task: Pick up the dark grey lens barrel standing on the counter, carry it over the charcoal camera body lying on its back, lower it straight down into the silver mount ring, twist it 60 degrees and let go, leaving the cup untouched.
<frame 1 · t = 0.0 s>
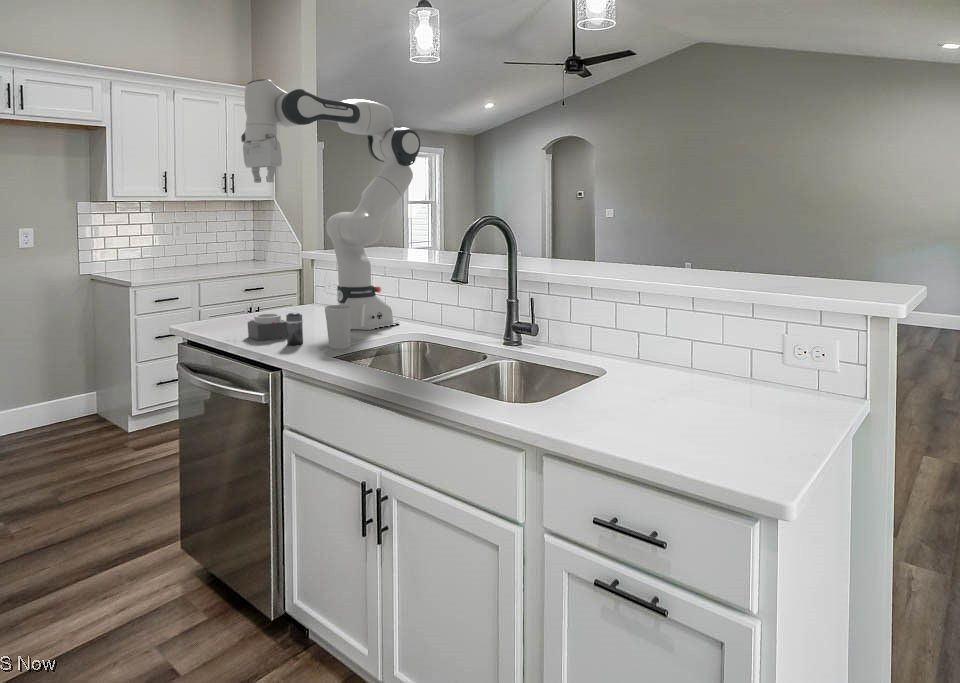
hand: (263, 182, 213), 48 cm above the worktop, tool pointing down, fingers open, 8 cm apart
lens: (295, 344, 211), on the worktop
cup: (339, 347, 208), on the worktop
camera body: (268, 337, 221), on the worktop
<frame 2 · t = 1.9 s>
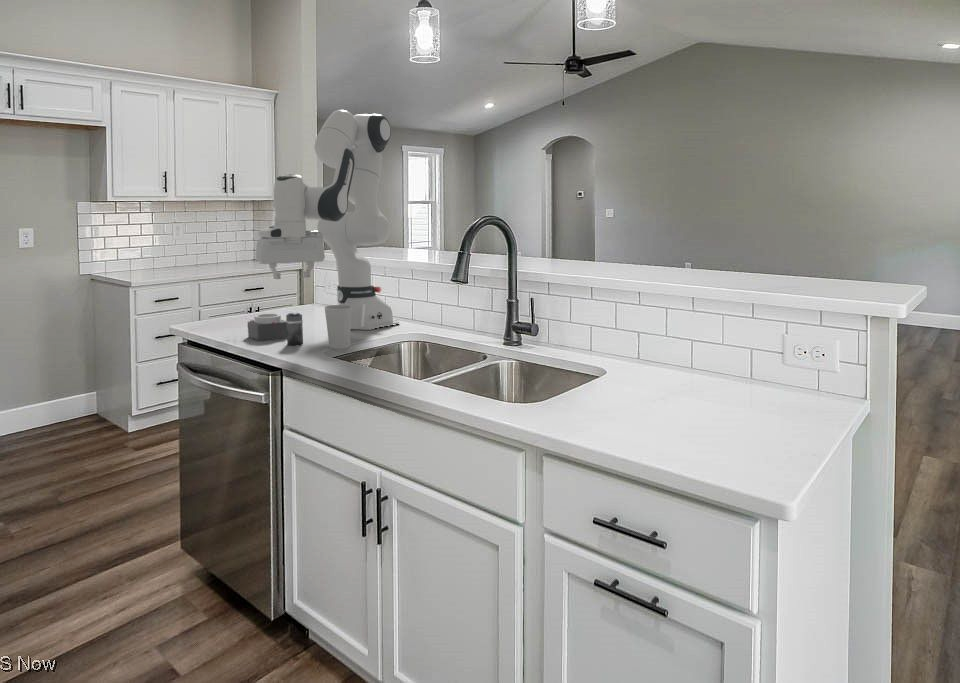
hand: (292, 278, 207), 20 cm above the worktop, tool pointing down, fingers open, 8 cm apart
nothing on the worktop moved.
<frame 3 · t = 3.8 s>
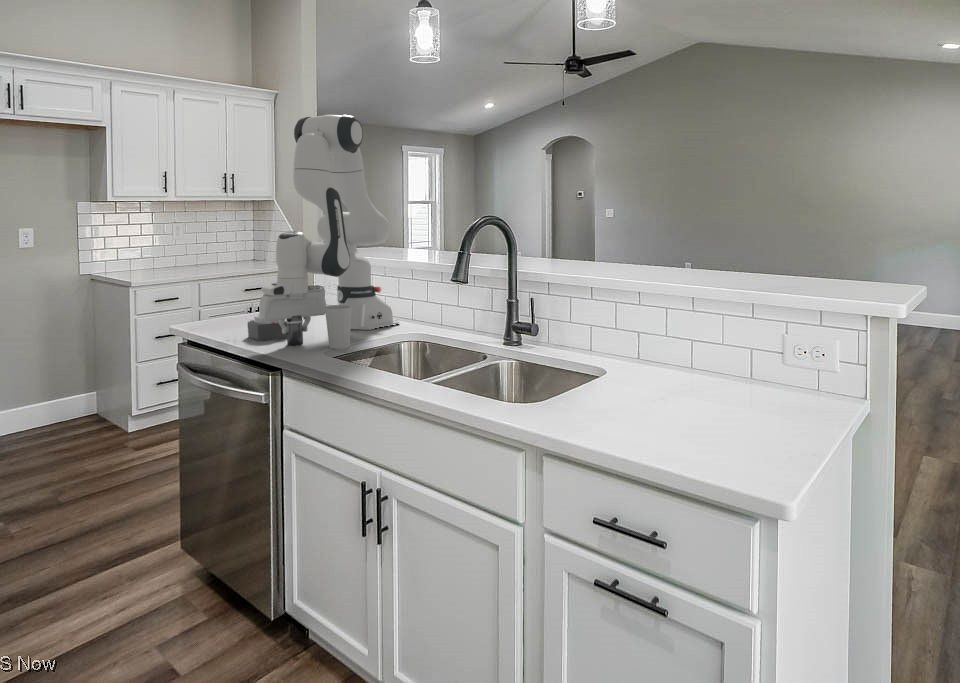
hand: (294, 332, 210), 4 cm above the worktop, tool pointing down, fingers closed on lens, 5 cm apart
lens: (295, 344, 211), on the worktop, touching gripper
everything else where it was.
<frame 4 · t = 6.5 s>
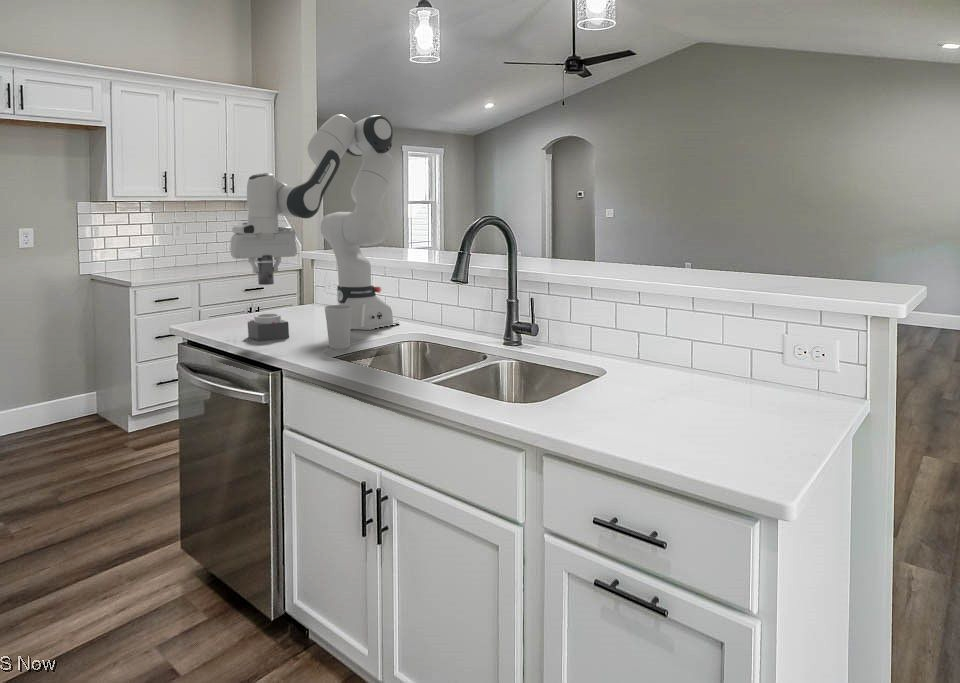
hand: (265, 272, 217), 21 cm above the worktop, tool pointing down, fingers closed on lens, 5 cm apart
lens: (266, 283, 217), point 17 cm above the worktop, touching gripper
everything else where it was.
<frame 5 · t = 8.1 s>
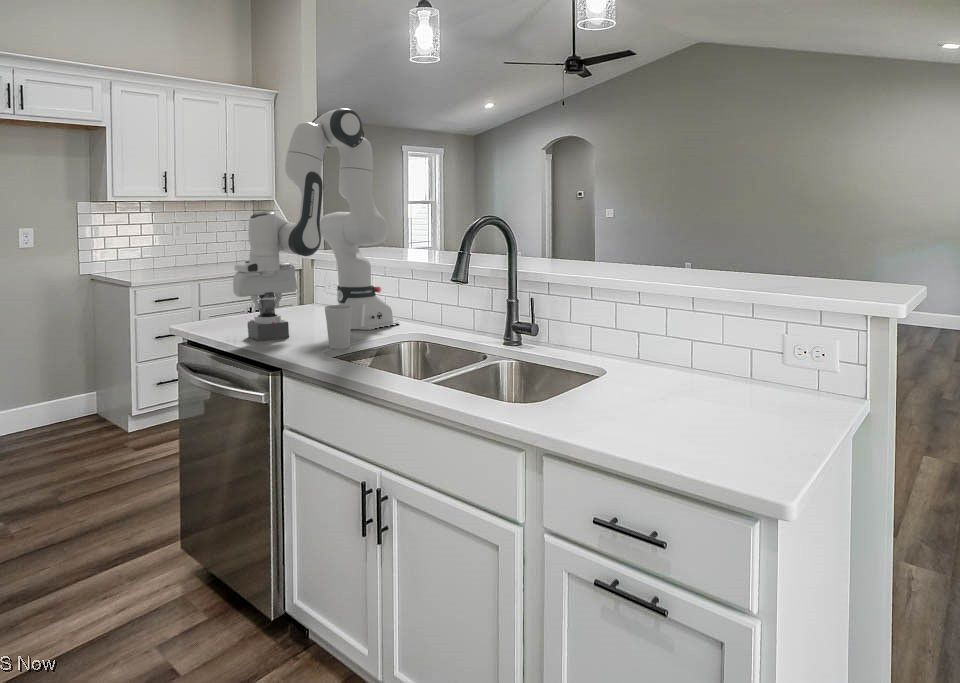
hand: (267, 308, 219), 9 cm above the worktop, tool pointing down, fingers closed on lens, 5 cm apart
lens: (267, 320, 220), point 6 cm above the worktop, touching gripper
everything else where it was.
when the fingers open (9 cm above the worktop, at t = 9.4 s): lens stays where it is, resting on camera body.
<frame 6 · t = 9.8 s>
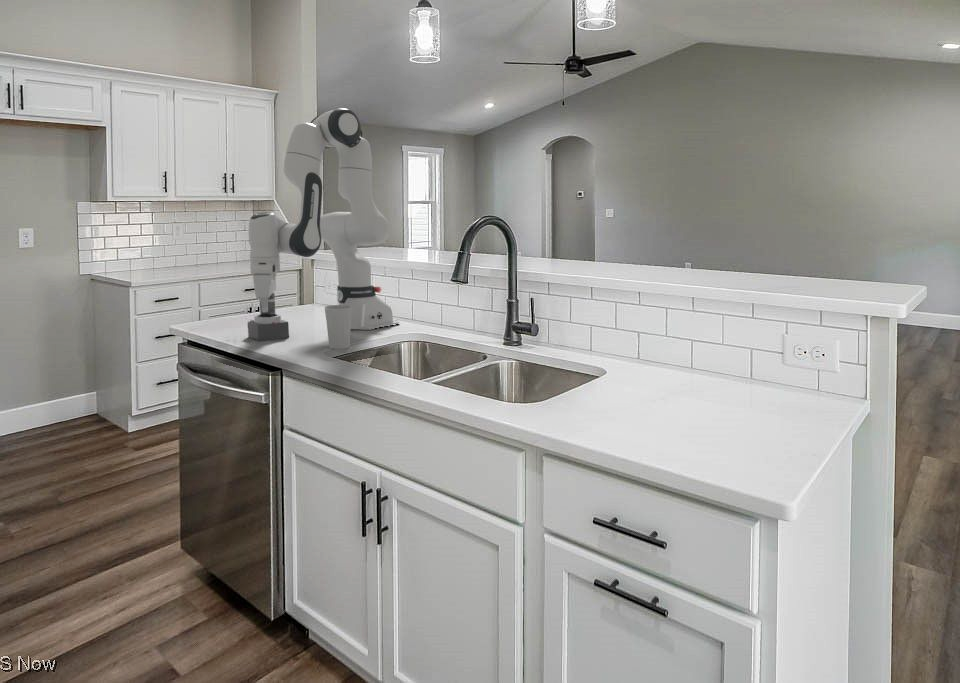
hand: (267, 309, 219), 9 cm above the worktop, tool pointing down, fingers open, 8 cm apart
lens: (268, 321, 220), point 5 cm above the worktop, touching camera body
everything else where it was.
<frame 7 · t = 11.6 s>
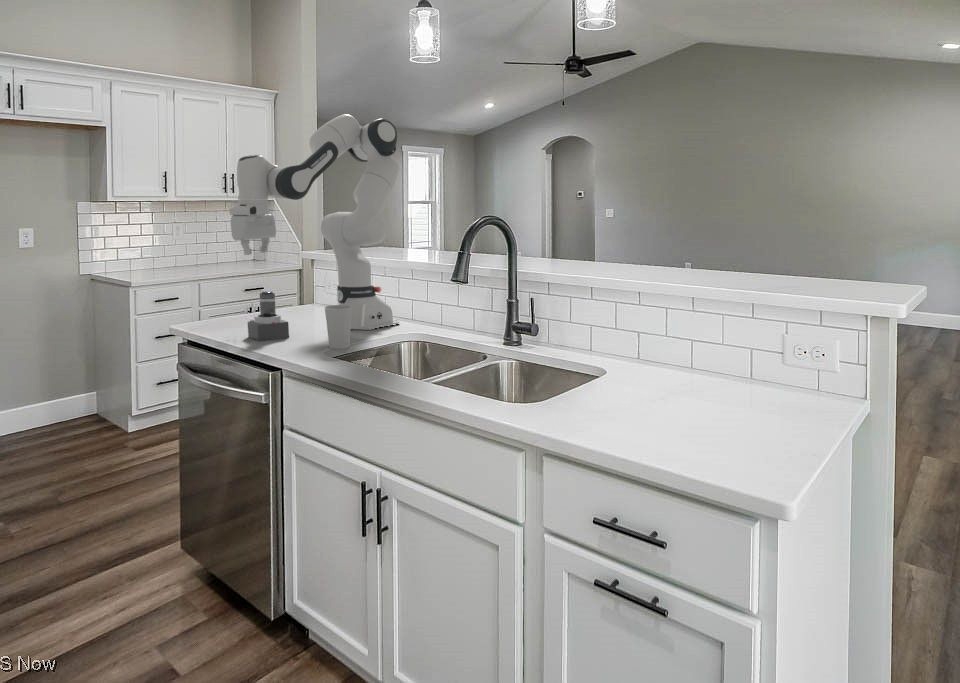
hand: (256, 253, 218), 26 cm above the worktop, tool pointing down, fingers open, 8 cm apart
nothing on the worktop moved.
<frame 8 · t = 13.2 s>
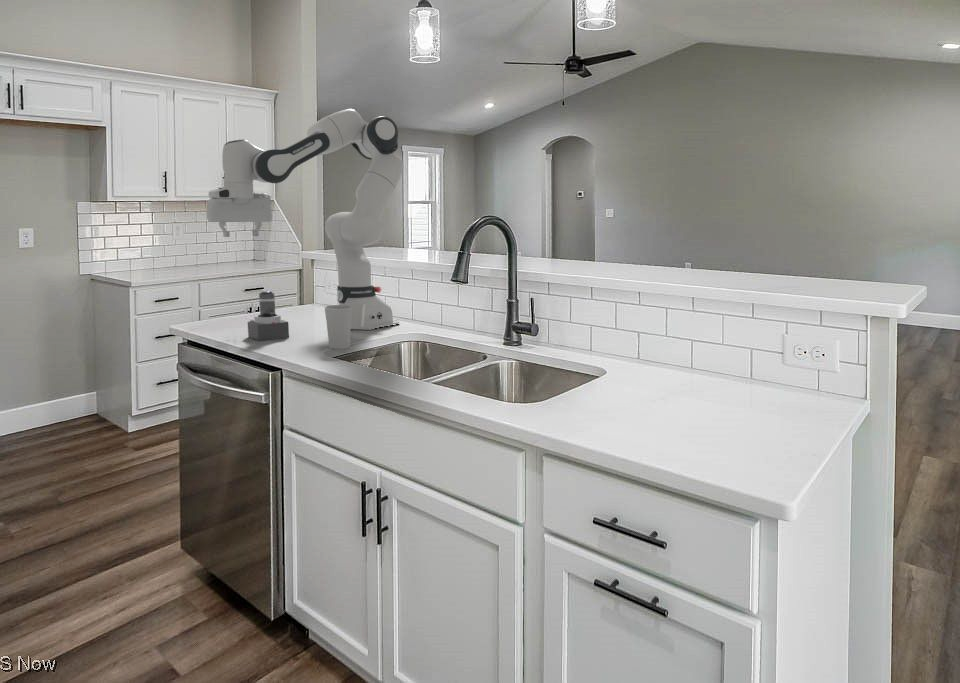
hand: (241, 236, 223), 31 cm above the worktop, tool pointing down, fingers open, 8 cm apart
nothing on the worktop moved.
at the end: lens 0.1 cm off-centre on the camera body, point 5.0 cm above the camera body's base; lens tilted 1°; the gripper is holding nothing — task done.
